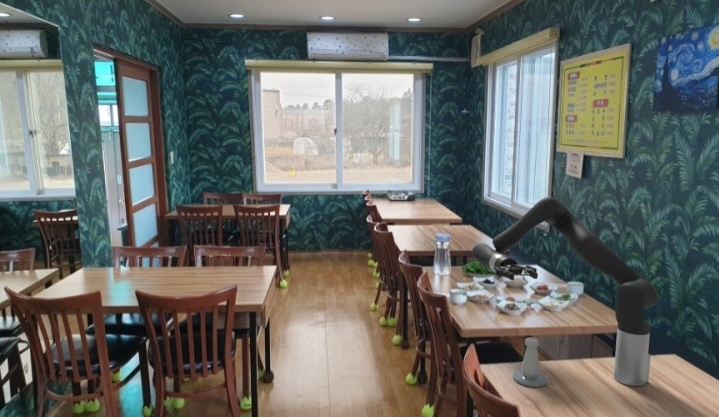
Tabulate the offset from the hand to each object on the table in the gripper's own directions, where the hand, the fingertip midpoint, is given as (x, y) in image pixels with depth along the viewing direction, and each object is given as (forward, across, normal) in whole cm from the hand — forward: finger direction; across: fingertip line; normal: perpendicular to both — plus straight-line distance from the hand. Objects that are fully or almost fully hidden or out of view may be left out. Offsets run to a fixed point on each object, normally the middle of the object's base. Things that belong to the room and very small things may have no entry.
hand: (524, 276), depth 170 cm
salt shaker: (+10, -2, +31) cm, 33 cm away
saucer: (+10, -2, +32) cm, 34 cm away
